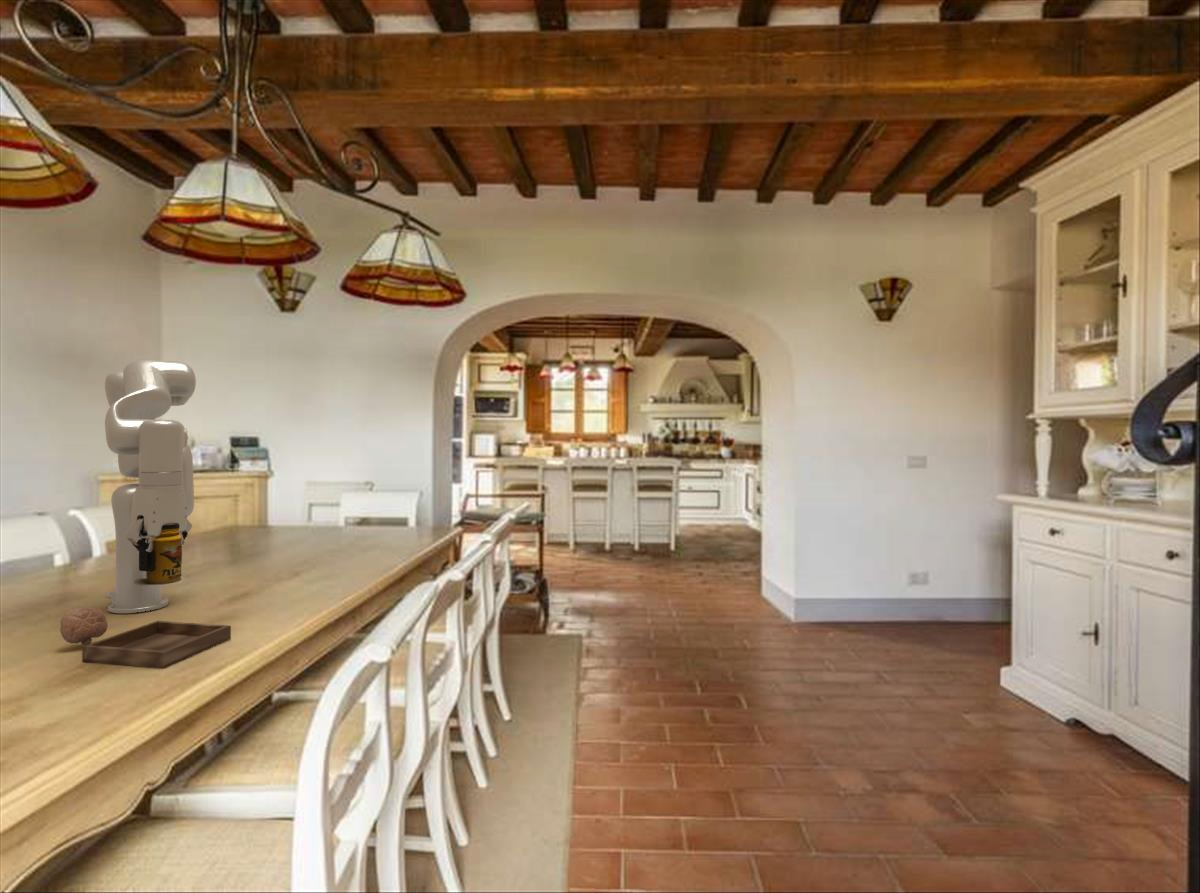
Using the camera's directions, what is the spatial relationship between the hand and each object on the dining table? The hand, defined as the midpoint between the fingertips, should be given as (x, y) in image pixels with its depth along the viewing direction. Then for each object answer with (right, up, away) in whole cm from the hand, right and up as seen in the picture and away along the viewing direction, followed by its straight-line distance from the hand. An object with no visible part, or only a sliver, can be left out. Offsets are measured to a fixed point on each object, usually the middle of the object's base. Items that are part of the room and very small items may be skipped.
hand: (160, 566), depth 135 cm
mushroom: (-17, -17, +2) cm, 24 cm away
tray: (0, -17, 0) cm, 17 cm away
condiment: (0, -3, 0) cm, 3 cm away
